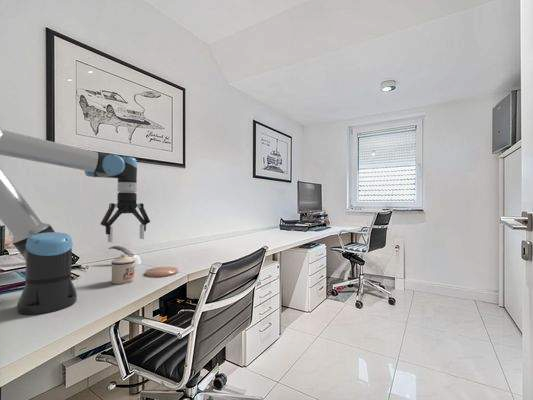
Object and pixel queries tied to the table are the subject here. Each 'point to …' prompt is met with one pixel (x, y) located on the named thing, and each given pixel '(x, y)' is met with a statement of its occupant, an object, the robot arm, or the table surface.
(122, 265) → the teacup with lid
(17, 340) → the table surface
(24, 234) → the robot arm
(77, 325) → the table surface
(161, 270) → the dish
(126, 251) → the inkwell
